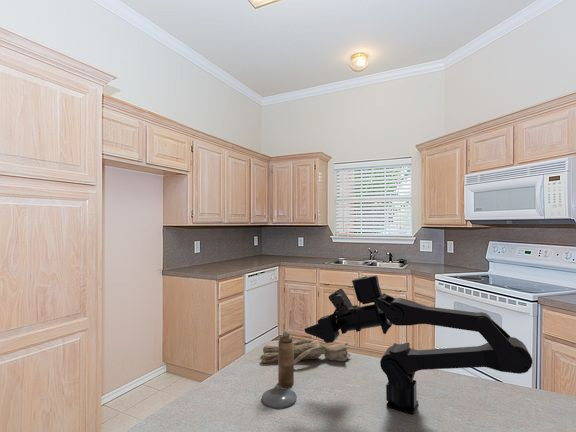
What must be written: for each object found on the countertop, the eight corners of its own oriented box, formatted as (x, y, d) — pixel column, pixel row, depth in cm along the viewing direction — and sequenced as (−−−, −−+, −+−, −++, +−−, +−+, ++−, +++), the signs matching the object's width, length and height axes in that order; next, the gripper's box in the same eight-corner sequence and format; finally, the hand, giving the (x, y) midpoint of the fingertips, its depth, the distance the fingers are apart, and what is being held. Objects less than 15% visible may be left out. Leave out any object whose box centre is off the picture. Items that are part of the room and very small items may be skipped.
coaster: (302, 395, 87) (302, 393, 87) (284, 412, 80) (284, 409, 80) (274, 387, 92) (274, 384, 92) (255, 401, 85) (255, 399, 85)
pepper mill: (296, 382, 95) (296, 330, 95) (288, 388, 91) (288, 334, 92) (283, 378, 97) (283, 327, 98) (275, 384, 94) (275, 331, 94)
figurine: (261, 376, 104) (356, 367, 104) (260, 355, 104) (354, 347, 105) (265, 356, 121) (346, 349, 121) (263, 338, 121) (344, 331, 121)
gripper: (363, 282, 98) (316, 292, 105) (343, 293, 81) (289, 305, 88) (374, 320, 96) (326, 328, 103) (356, 339, 80) (300, 347, 86)
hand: (311, 326), depth 95 cm, fingers open, 9 cm apart
